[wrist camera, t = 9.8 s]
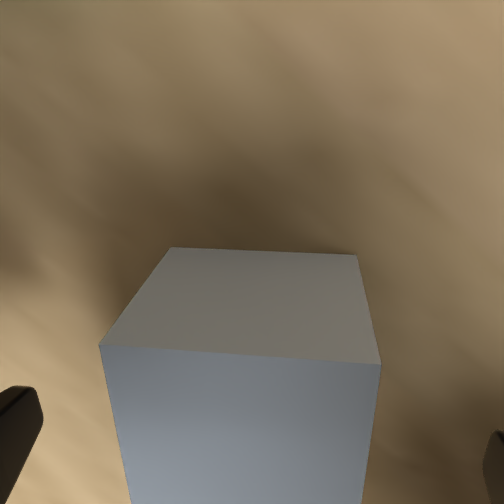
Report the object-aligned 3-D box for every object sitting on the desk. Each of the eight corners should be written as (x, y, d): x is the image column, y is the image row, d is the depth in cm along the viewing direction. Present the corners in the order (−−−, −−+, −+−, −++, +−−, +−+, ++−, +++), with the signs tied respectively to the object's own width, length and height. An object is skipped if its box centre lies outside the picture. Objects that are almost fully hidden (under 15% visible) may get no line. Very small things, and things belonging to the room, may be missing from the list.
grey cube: (356, 252, 10) (381, 364, 6) (341, 397, 12) (354, 547, 8) (171, 245, 10) (98, 344, 7) (186, 384, 12) (134, 519, 9)
